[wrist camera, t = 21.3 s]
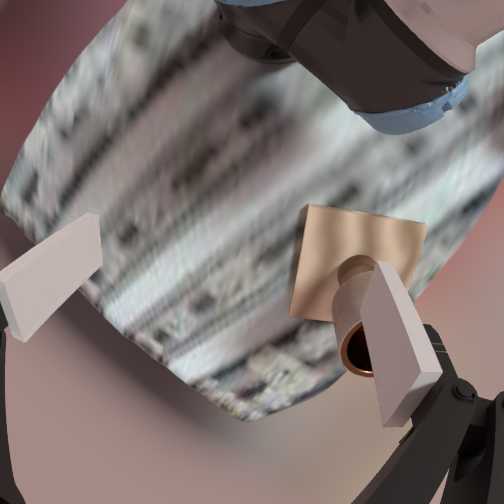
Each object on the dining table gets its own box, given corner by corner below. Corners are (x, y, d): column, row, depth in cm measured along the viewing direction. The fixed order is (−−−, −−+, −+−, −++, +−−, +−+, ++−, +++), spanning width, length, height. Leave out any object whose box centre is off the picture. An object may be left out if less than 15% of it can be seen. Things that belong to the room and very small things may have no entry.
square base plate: (289, 311, 56) (288, 348, 46) (308, 203, 47) (312, 225, 38) (391, 322, 54) (405, 357, 45) (424, 223, 46) (450, 248, 37)
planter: (374, 341, 44) (387, 387, 36) (316, 316, 43) (320, 363, 35) (418, 287, 40) (442, 328, 31) (358, 254, 39) (375, 294, 30)
